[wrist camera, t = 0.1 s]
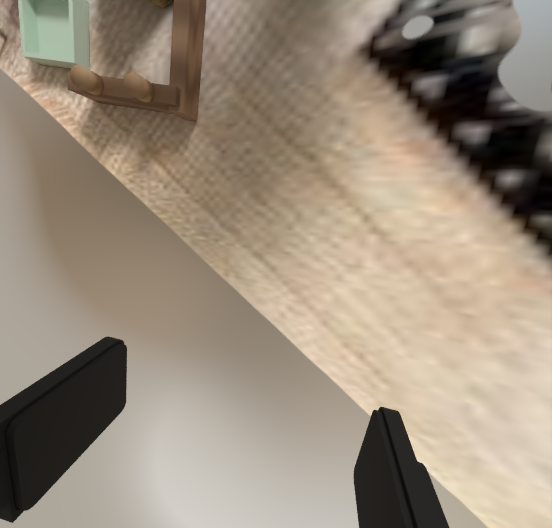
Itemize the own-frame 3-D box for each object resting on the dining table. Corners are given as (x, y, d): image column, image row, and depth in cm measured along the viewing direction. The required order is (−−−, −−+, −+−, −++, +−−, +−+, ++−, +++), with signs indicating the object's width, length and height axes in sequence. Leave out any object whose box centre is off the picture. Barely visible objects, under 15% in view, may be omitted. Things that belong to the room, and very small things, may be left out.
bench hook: (96, -87, 33) (36, -164, 26) (212, -81, 32) (181, -161, 25) (98, 106, 39) (50, 86, 32) (196, 120, 38) (168, 103, 30)
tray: (36, -3, 37) (16, -17, 35) (88, 2, 36) (72, -12, 34) (40, 64, 39) (22, 56, 37) (89, 71, 38) (74, 62, 36)
